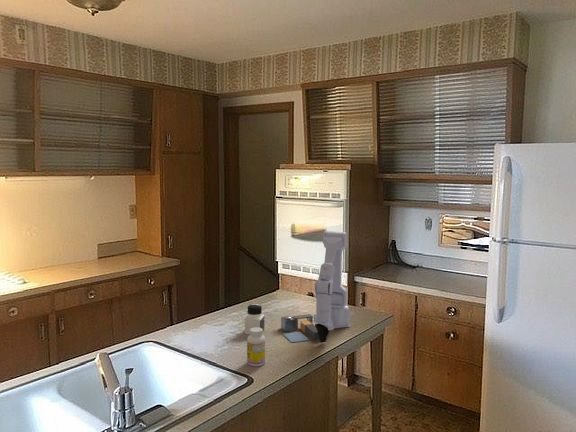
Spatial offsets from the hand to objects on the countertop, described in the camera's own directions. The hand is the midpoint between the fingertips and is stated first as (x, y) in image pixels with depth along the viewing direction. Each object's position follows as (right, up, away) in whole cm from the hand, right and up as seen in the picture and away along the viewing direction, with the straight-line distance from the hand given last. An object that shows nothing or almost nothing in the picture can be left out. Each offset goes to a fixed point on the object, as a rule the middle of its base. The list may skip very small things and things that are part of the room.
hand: (322, 341), depth 197 cm
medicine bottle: (-29, 0, +13) cm, 31 cm away
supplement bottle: (-26, -3, -19) cm, 32 cm away
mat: (-11, 0, +7) cm, 13 cm away
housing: (-10, +1, +19) cm, 21 cm away
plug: (-4, 0, +11) cm, 12 cm away
